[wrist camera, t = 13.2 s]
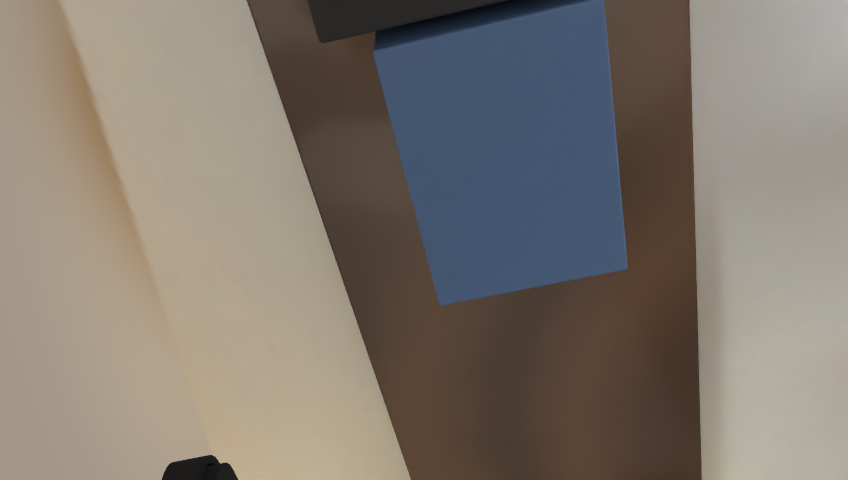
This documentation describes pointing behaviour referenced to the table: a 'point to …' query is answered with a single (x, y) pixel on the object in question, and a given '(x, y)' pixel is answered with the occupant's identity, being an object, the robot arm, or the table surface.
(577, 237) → the blue rectangular block
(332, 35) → the black rectangular block
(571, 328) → the board
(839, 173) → the table surface
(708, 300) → the table surface
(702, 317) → the table surface
